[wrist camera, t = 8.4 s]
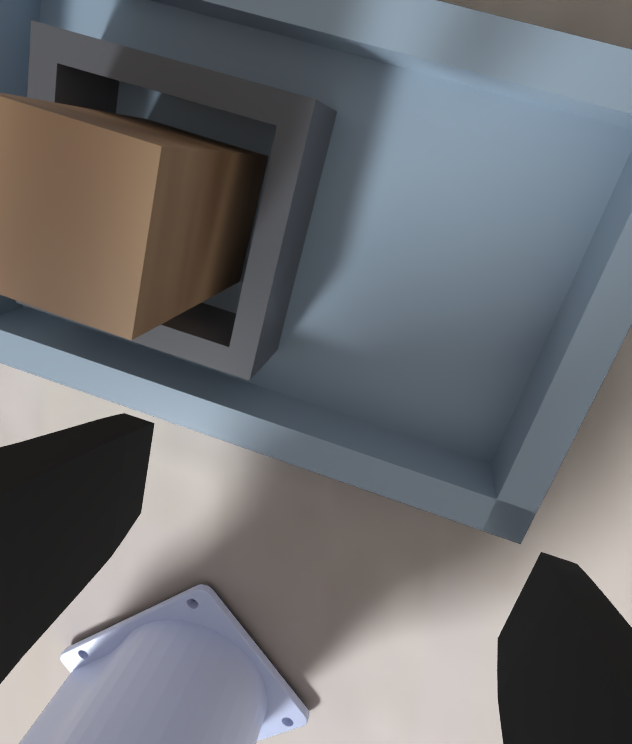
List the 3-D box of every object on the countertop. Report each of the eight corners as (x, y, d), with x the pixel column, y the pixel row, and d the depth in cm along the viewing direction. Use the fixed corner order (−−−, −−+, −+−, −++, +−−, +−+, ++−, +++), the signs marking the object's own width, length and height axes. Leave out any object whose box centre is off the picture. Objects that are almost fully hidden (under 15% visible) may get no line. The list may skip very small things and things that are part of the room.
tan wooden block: (129, 245, 19) (-34, 282, 12) (147, 119, 17) (-27, 87, 11) (240, 281, 18) (131, 340, 12) (268, 156, 17) (162, 146, 10)
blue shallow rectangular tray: (0, 324, 21) (-75, 350, 18) (17, -81, 16) (-81, -141, 13) (510, 498, 19) (524, 561, 16) (703, 95, 14) (775, 74, 11)
